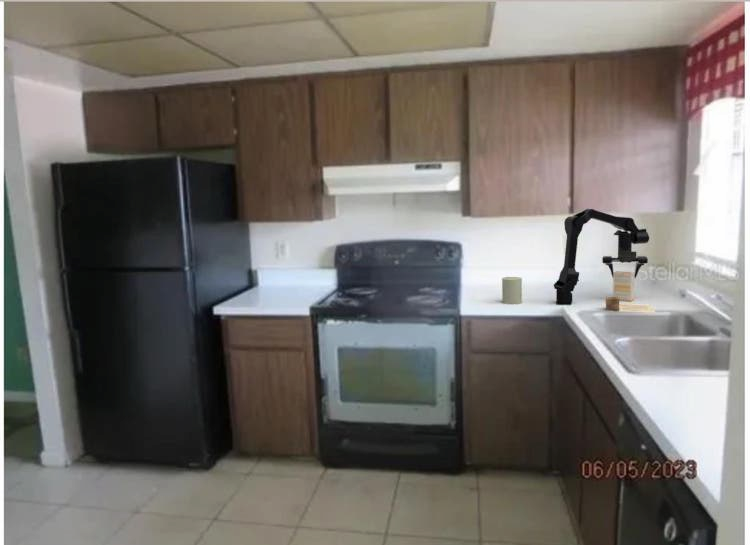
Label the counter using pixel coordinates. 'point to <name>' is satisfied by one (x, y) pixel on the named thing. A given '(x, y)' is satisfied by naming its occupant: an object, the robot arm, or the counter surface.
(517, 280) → the can
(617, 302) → the walnut cube
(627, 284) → the supplement box
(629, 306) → the letter
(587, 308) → the counter surface
